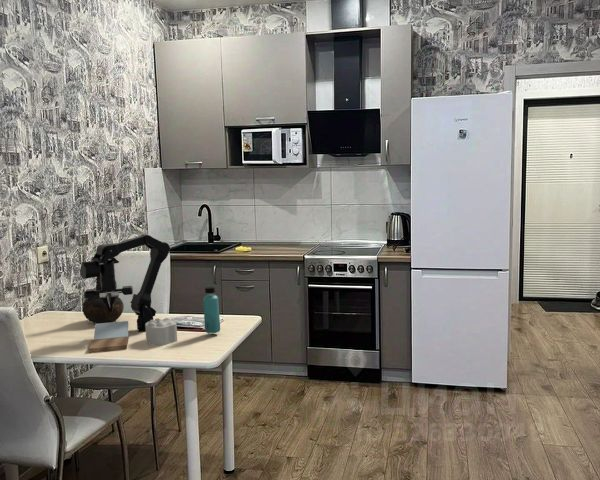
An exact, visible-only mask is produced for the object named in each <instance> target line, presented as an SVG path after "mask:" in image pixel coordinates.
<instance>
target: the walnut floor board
mask: <svg viewBox="0 0 600 480" xmlns="http://www.w3.org/2000/svg"><path fill="white" fill-rule="evenodd" d="M128 344H129V336H128V337H121V338H110V339H100V340H94V339H93V340H91V344H90V346H89V349H88V350H89V353H90V354H91V353H92V352H93V353H101V352H100V351H103V352H110V351H111V350H113V351H121V350H127V348H128ZM109 350H110V351H109ZM93 353H92V354H93Z"/></svg>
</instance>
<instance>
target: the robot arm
mask: <svg viewBox="0 0 600 480" xmlns="http://www.w3.org/2000/svg"><path fill="white" fill-rule="evenodd" d="M141 246H145V247H146V248H148V249H150V252H149V258H150V259H149V260H150V261H149V264H148V267H147V269H146V272H145V275H144V278H143V281H142V284H141V287H140V290H139V291H138V292H137V293H136V294H135V293H134V288H133V286H132V285H123V286H121V287H122V288H117V287H118V286H117V281H116V271H115V264H119V263H120V261H119V260H117V258H116V257H117V256H119V255H120V254H121V253H124V252H127V251H128V250H132V249H135V248H138V247H141ZM170 252H171V246H170V245H169V243H168V242H164V241H161V240H159V239H156V238H154V237H153V236H151V235H150V234H145V233H143V234H140V235H138V236H135V237H132V238H129V239H125V240H122V241H119V242H115V243H104V244H99V245H98V246H97V248H96V250H95V254H94V255H93V257H92V259H91V260H90V261H82V262H81V265H80V268H79V274H80V277H81V278H82V279H83V280H86V279H91V278H97V277H98V276H99V275H100V278H101V279H99V287H101V290H97V291H96V288H87V289H86V290H85V291H84V293H83V297H84V299H87V298H93V297H94V295H99V296H100V299H102V300H103V301H104V303H105V304H106V306H107V308H108V310H109V312H110V313H111V312H112V309H113V305H114V301H115V298H118V297H119V296H120V294H122V295H124V296H129V295H132V298H131V301H130V308H131V310H132V311H133V312H134V314H135V315H136V316H137V319H136V329H137V330H138V332H139V333H140V332H146V328H145V324H146V323H147V322H149V321H150V320H154V317H155V316H156V313H157V310H156V309H154V308H153V307H152V305H151V304H152V292H153V290H154V286H155V283H156V280H157V277H158V274H159V272H160V268H161V266H162V263H163V262H164V261H165V260H166V259H167V258H168V256H169V254H170ZM107 294H111V302H110V303H109V298H108V295H107ZM119 298H120V297H119Z"/></svg>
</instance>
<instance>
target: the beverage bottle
mask: <svg viewBox="0 0 600 480" xmlns="http://www.w3.org/2000/svg"><path fill="white" fill-rule="evenodd" d="M204 293H205V294H206V295H204V297H202V300H203V301H202V304H203V306H202V307H203V317H204V318H203V320H204V321H203V322H204V332H205V333H207V334H216V333H219V332H221V323H220V322H221V320H220V318H221V317H220V307H219V306H220V305H219V296H218V295H216V294H215V293H216V289H215V286H207V287H205V288H204Z"/></svg>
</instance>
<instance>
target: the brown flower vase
mask: <svg viewBox="0 0 600 480" xmlns="http://www.w3.org/2000/svg"><path fill="white" fill-rule="evenodd" d="M99 279H101V278H100V275H99V276H98V277H96V285H95V289H96V291H97V290H101V287H99ZM107 295H108V298H109V303H110V302H111V294H107ZM124 306H125V305H124V302H123V300H122V299H121V297H118V298H115V301H114V305H113V309H112V312H111V313H110V312H109V310H108V308H107V306H106V304H105V303H104V301H103V300H102V299H100V296H99V295H94V297H93V298H85V300H84V301H83V304H82V313H83V315H84V317H85V318H86V319H87V321H89V322H91V323H93V324H100V323H111V322H116V321H117V320H118V319H119V318H120V317H121V315H122V314H123V312H124V308H125V307H124Z"/></svg>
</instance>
